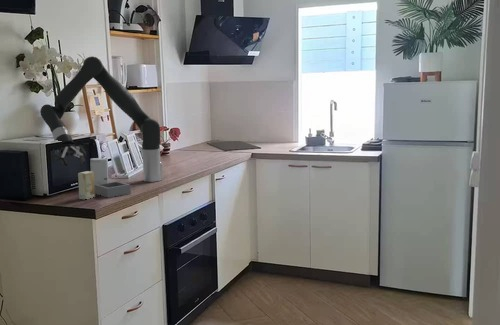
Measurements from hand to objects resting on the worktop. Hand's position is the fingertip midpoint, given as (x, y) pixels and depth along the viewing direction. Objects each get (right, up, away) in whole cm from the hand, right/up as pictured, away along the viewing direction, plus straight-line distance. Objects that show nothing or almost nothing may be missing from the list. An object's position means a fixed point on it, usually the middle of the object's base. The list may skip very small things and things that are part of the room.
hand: (75, 164), depth 236 cm
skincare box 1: (+7, -16, -5) cm, 18 cm away
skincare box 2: (+6, -12, +19) cm, 23 cm away
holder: (+17, -14, +3) cm, 22 cm away
